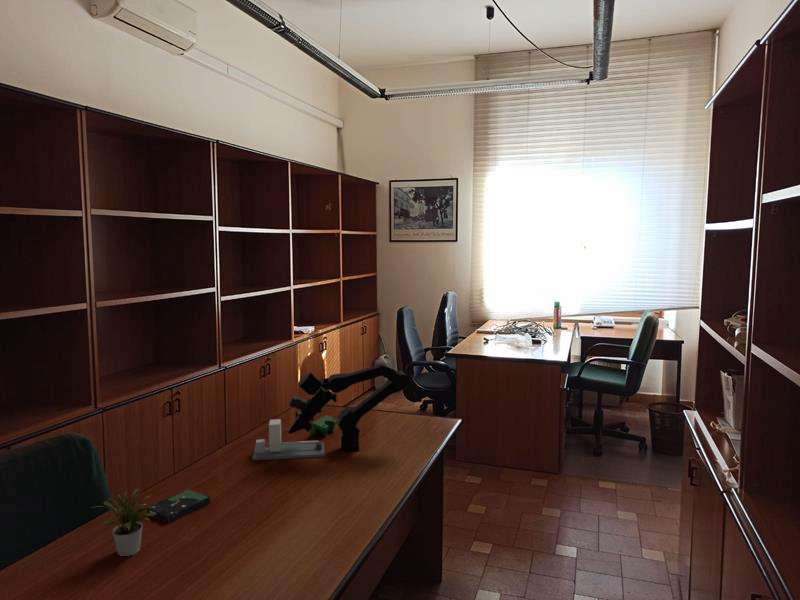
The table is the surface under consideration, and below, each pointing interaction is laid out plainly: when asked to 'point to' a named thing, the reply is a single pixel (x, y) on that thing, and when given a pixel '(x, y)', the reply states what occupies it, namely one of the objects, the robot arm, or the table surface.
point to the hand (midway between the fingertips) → (288, 432)
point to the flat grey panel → (289, 450)
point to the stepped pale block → (275, 435)
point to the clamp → (323, 425)
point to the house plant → (128, 524)
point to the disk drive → (179, 505)
